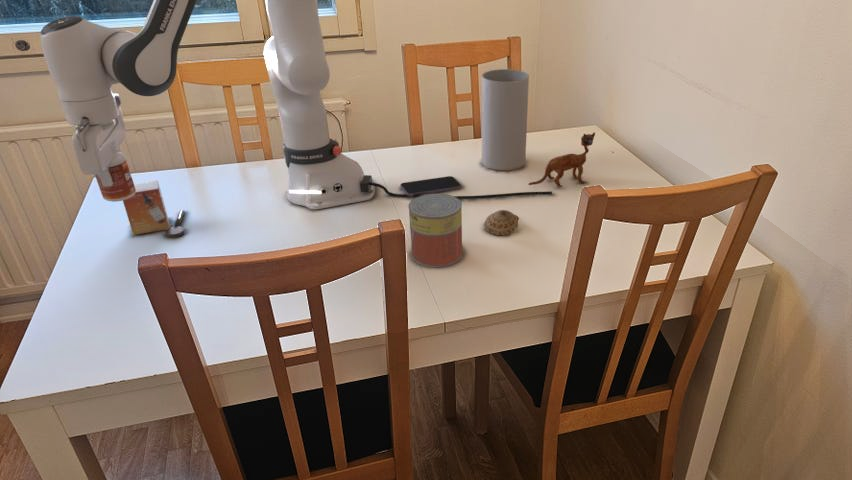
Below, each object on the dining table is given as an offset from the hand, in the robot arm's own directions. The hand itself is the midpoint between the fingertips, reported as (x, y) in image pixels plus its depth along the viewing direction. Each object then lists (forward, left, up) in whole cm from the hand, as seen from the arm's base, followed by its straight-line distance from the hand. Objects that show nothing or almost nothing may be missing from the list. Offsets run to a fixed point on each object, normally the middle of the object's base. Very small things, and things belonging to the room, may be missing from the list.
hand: (113, 177), depth 129 cm
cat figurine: (-101, -18, -20) cm, 105 cm away
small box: (+1, -16, -20) cm, 25 cm away
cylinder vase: (-90, -35, -20) cm, 99 cm away
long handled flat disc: (-5, -16, -20) cm, 26 cm away
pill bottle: (0, 0, -4) cm, 4 cm away
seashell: (-80, +2, -20) cm, 83 cm away
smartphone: (-67, -23, -20) cm, 74 cm away
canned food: (-63, +11, -20) cm, 67 cm away
